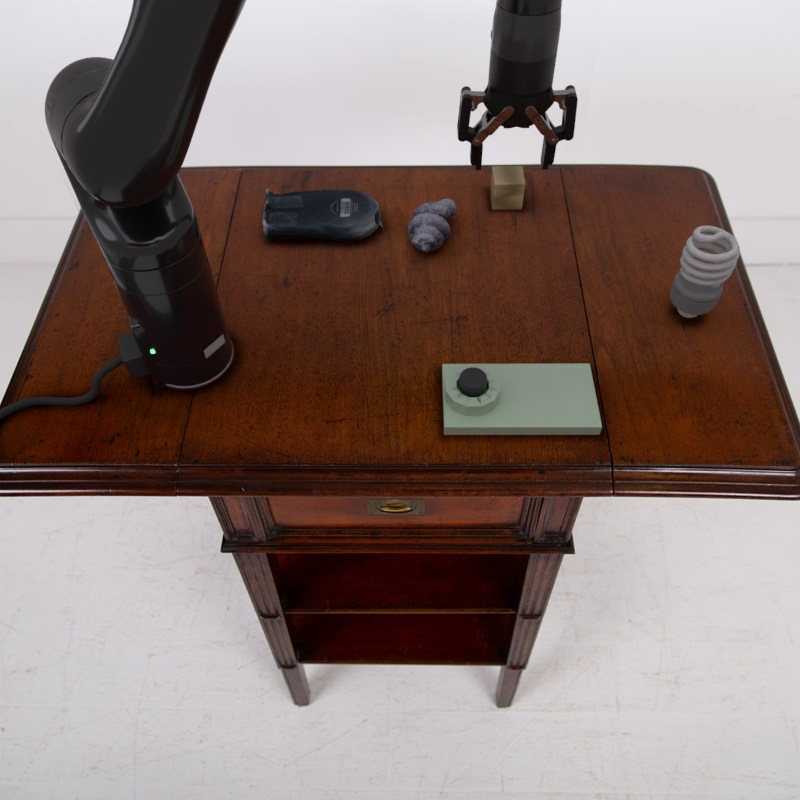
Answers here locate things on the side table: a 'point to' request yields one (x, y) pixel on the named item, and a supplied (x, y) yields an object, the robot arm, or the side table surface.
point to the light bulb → (703, 271)
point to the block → (507, 187)
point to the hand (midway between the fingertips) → (511, 166)
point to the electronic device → (320, 215)
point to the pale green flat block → (523, 401)
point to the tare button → (473, 382)
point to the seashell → (431, 224)
